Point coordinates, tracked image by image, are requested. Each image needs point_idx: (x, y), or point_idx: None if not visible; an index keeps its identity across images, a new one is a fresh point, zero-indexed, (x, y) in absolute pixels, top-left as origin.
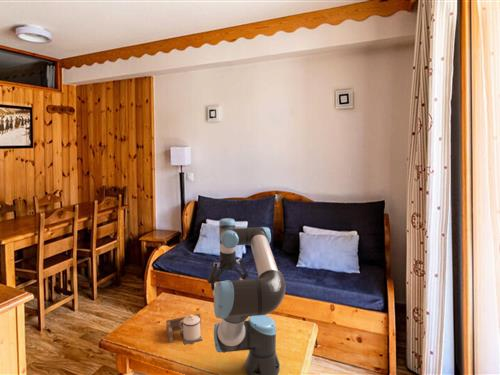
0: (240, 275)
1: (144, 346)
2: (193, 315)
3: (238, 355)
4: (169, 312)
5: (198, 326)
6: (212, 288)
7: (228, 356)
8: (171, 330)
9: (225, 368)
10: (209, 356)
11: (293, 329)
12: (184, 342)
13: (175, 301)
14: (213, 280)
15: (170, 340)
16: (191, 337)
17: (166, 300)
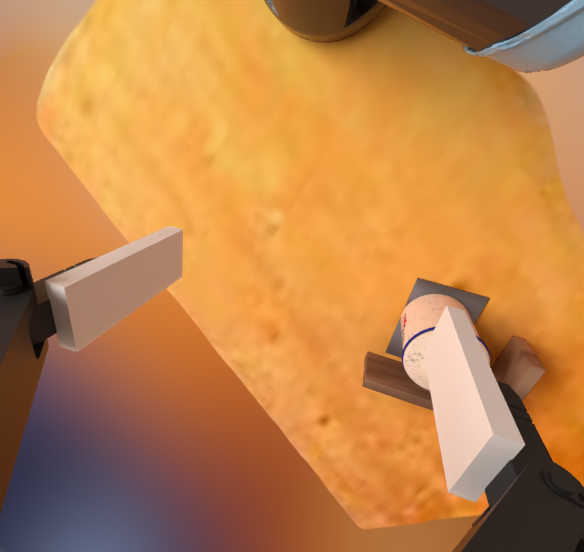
0: (8, 334)
1: None
2: (419, 381)
3: (362, 105)
4: (408, 462)
5: (428, 320)
6: (516, 404)
7: (399, 125)
8: (531, 372)
9: (464, 52)
10: (462, 173)
11: (104, 127)
12: (481, 307)
13: (358, 488)
14: (574, 542)
15: (526, 344)
16: (457, 305)
17: (377, 507)
